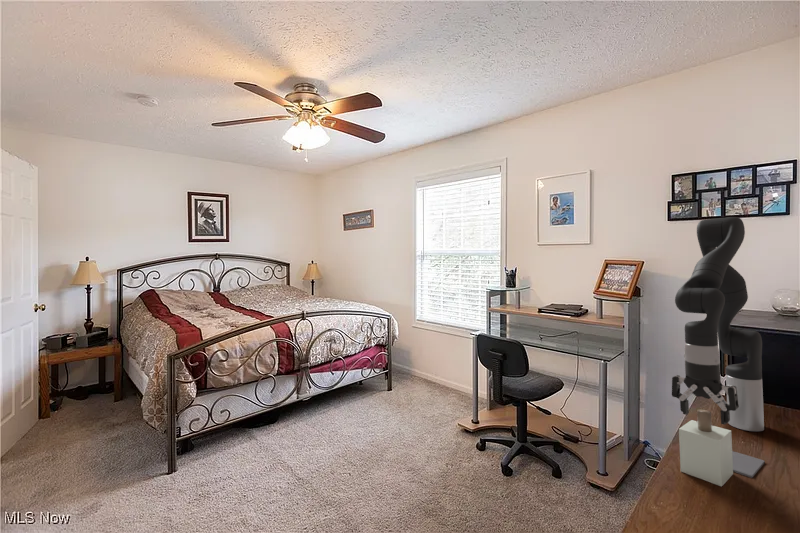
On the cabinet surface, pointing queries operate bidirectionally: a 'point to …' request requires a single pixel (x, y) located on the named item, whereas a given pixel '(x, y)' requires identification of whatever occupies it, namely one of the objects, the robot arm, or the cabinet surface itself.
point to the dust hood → (706, 450)
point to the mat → (746, 464)
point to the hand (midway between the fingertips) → (704, 418)
